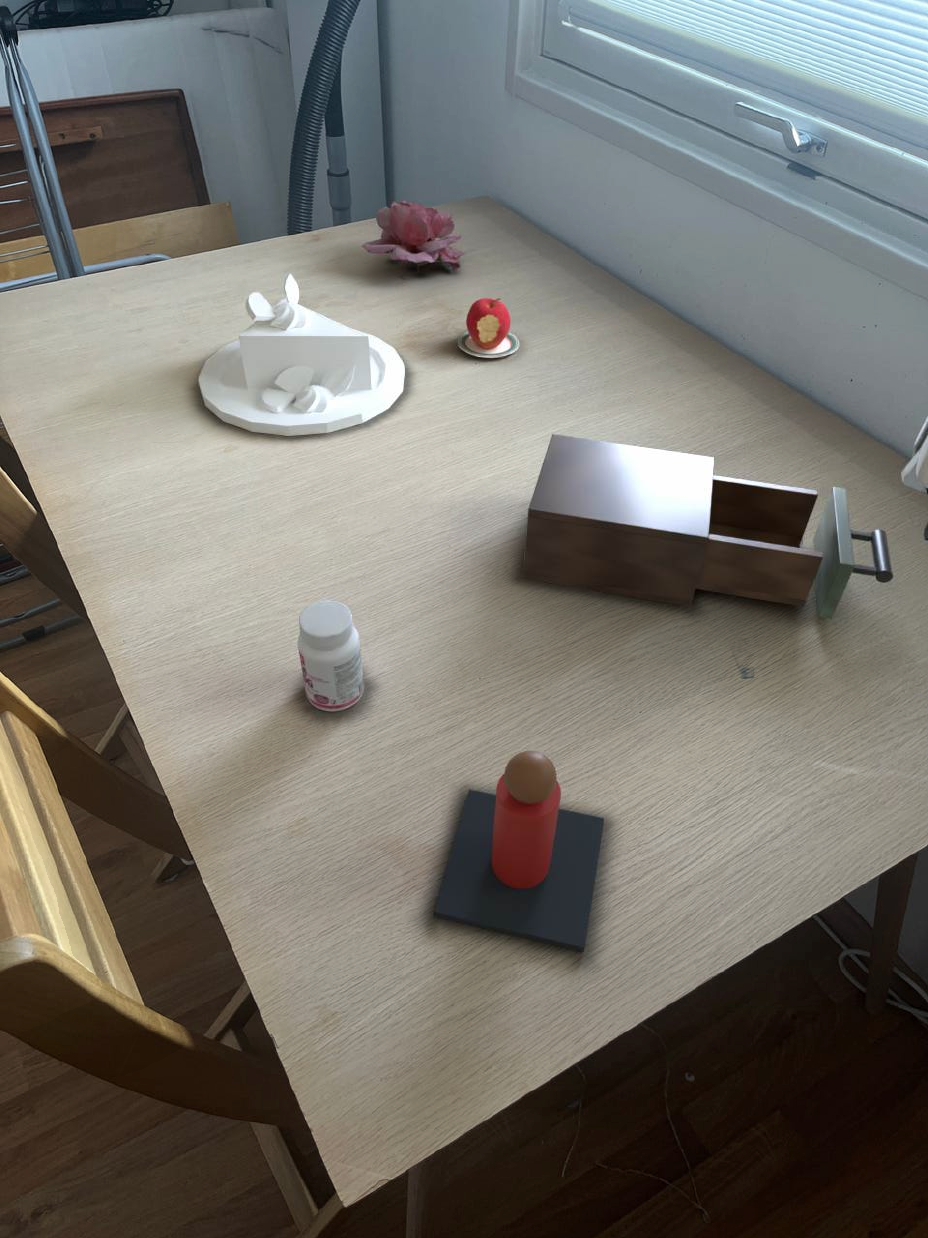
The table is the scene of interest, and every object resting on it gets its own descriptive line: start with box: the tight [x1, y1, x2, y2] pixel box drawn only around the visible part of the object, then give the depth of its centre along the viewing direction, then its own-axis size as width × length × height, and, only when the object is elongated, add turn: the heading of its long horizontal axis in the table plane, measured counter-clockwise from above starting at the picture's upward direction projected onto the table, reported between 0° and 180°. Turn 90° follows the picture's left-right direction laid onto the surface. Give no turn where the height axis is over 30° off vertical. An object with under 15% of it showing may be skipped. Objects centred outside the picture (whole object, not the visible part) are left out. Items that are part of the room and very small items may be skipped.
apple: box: [457, 297, 520, 359], centre depth 113 cm, size 8×8×6 cm
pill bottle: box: [297, 600, 365, 712], centre depth 69 cm, size 5×5×8 cm
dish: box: [197, 273, 406, 437], centre depth 104 cm, size 25×25×11 cm
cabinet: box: [522, 433, 715, 608], centre depth 83 cm, size 16×13×8 cm
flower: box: [361, 199, 465, 274], centre depth 130 cm, size 15×15×10 cm
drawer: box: [695, 474, 894, 620], centre depth 80 cm, size 19×11×6 cm, turn 76°
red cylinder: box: [491, 750, 562, 889], centre depth 56 cm, size 4×4×12 cm
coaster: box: [433, 789, 605, 953], centre depth 60 cm, size 10×10×1 cm
